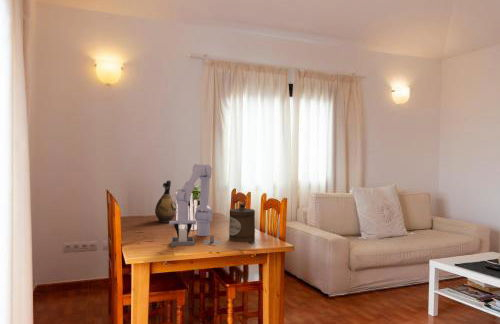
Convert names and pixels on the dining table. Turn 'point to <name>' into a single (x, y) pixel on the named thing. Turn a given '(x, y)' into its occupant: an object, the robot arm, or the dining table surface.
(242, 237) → the wooden container
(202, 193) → the robot arm
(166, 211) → the ceramic jug
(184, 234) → the block
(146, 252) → the dining table surface
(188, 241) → the bin
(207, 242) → the stud block
